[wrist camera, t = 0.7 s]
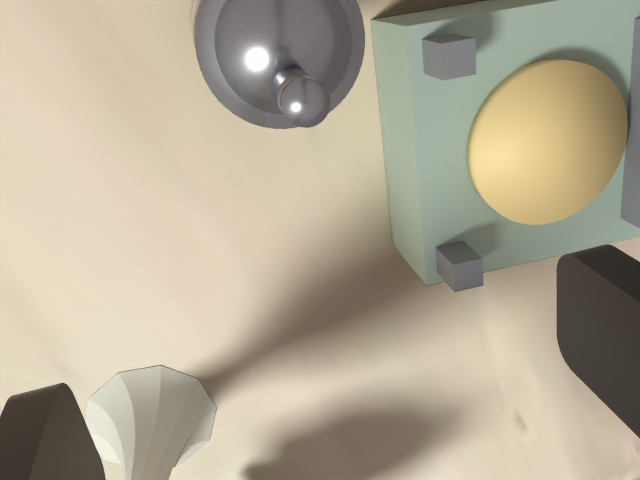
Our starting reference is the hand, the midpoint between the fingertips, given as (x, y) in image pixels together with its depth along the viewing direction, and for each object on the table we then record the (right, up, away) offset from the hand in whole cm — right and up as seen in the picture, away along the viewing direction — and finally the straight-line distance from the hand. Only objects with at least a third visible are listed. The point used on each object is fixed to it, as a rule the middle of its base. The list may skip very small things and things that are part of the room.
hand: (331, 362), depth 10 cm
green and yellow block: (+10, +9, +28) cm, 31 cm away
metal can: (-4, +14, +23) cm, 27 cm away
